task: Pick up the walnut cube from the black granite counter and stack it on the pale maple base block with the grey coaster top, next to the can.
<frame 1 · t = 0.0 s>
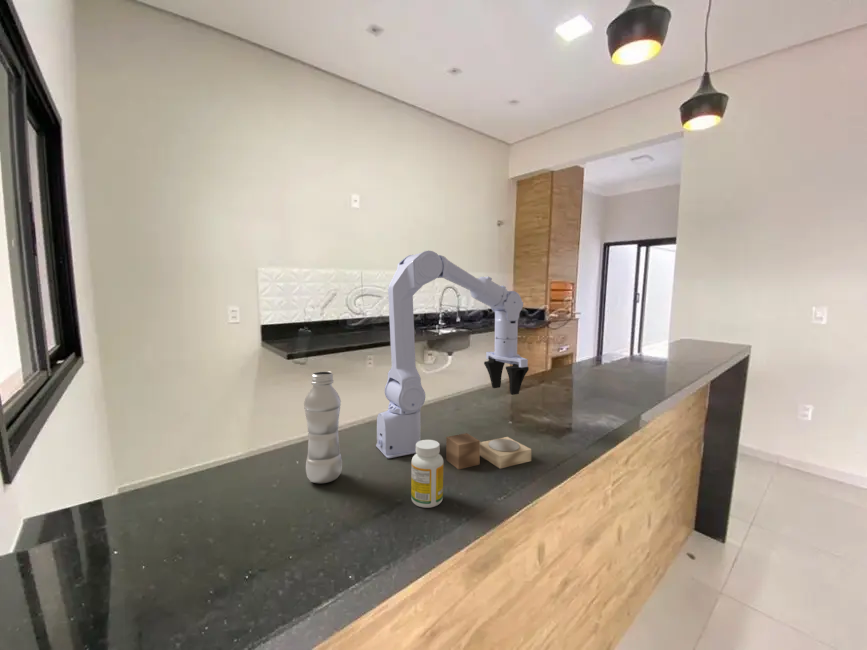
hand: (505, 390, 97), 10 cm above the worktop, fingers open, 7 cm apart
walnut cube: (462, 462, 78), on the worktop
base block: (503, 457, 80), on the worktop
supplement bottle: (427, 501, 63), on the worktop
plastic bottle: (324, 480, 70), on the worktop
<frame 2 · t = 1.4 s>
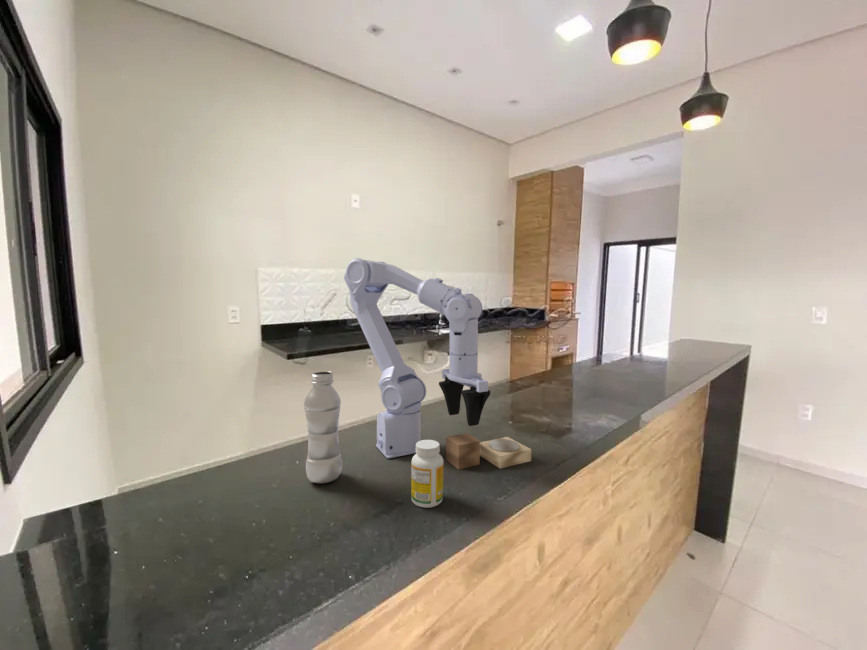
hand: (463, 419, 77), 9 cm above the worktop, fingers open, 7 cm apart
nothing on the worktop moved.
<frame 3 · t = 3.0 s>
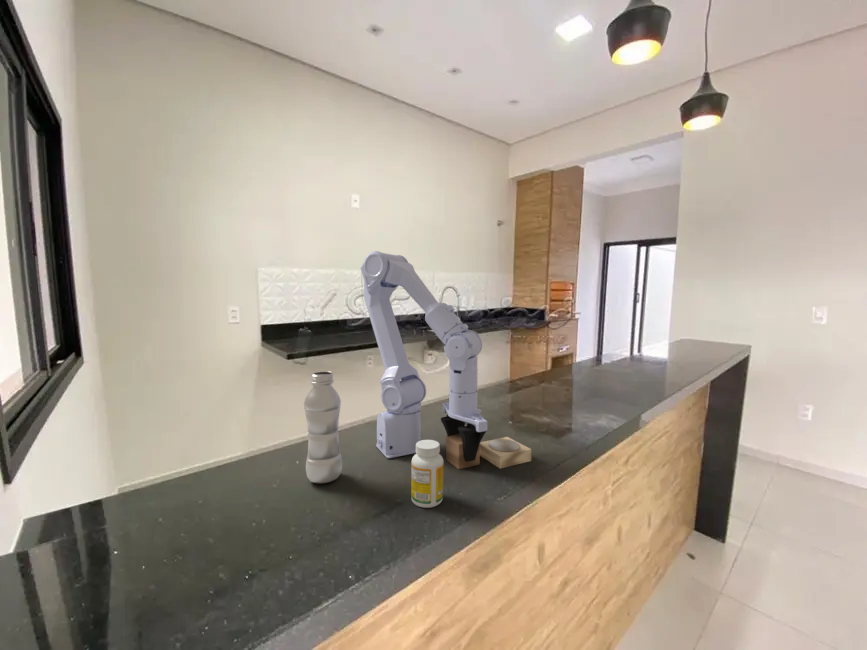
hand: (462, 455, 78), 1 cm above the worktop, fingers closed on walnut cube, 5 cm apart
walnut cube: (462, 462, 78), on the worktop, touching gripper
everything else where it was.
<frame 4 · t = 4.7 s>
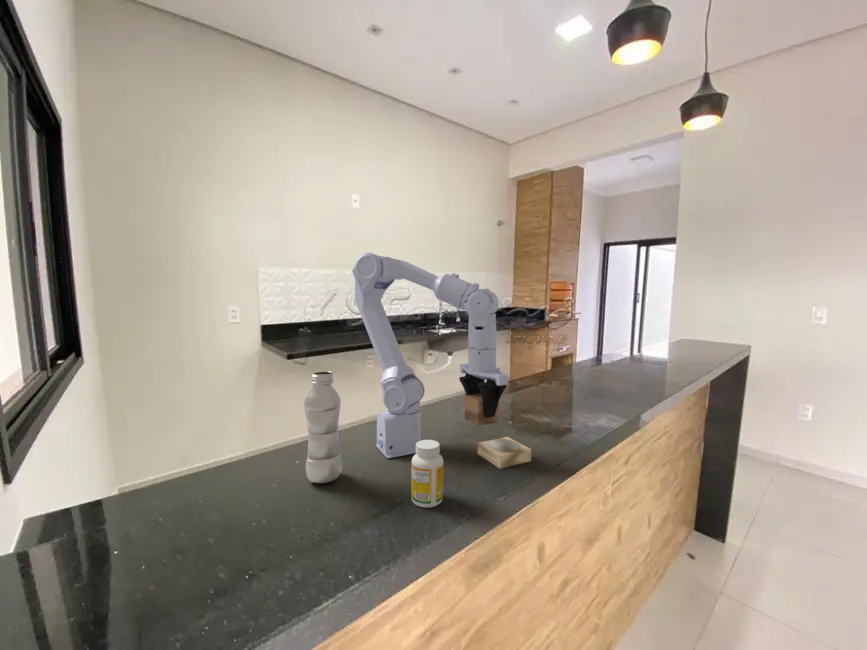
hand: (481, 413, 78), 10 cm above the worktop, fingers closed on walnut cube, 5 cm apart
walnut cube: (481, 420, 78), point 8 cm above the worktop, touching gripper
everything else where it was.
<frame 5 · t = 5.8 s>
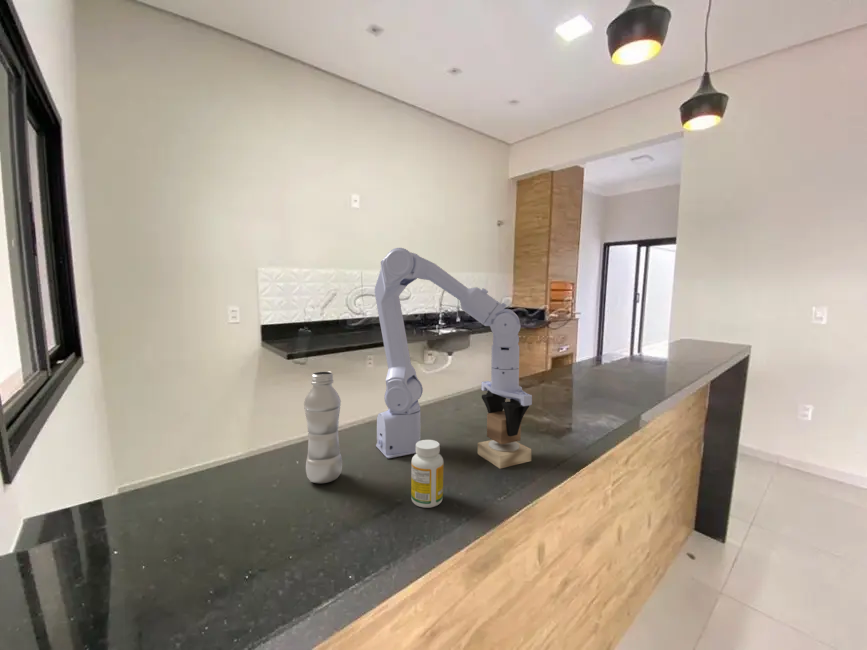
hand: (504, 430, 80), 6 cm above the worktop, fingers closed on walnut cube, 5 cm apart
walnut cube: (503, 438, 80), point 4 cm above the worktop, touching gripper
everything else where it was.
when the fingers open (6 cm above the worktop, at t = 6.7 s): walnut cube drops 1 cm, resting on base block.
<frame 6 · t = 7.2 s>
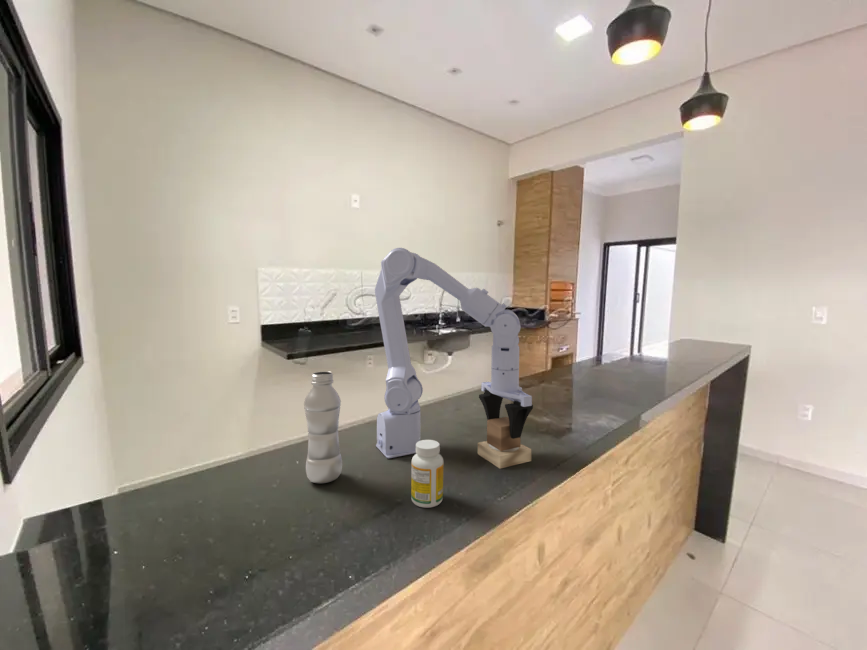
hand: (504, 431, 80), 6 cm above the worktop, fingers open, 7 cm apart
walnut cube: (503, 444, 80), point 3 cm above the worktop, touching base block
everything else where it was.
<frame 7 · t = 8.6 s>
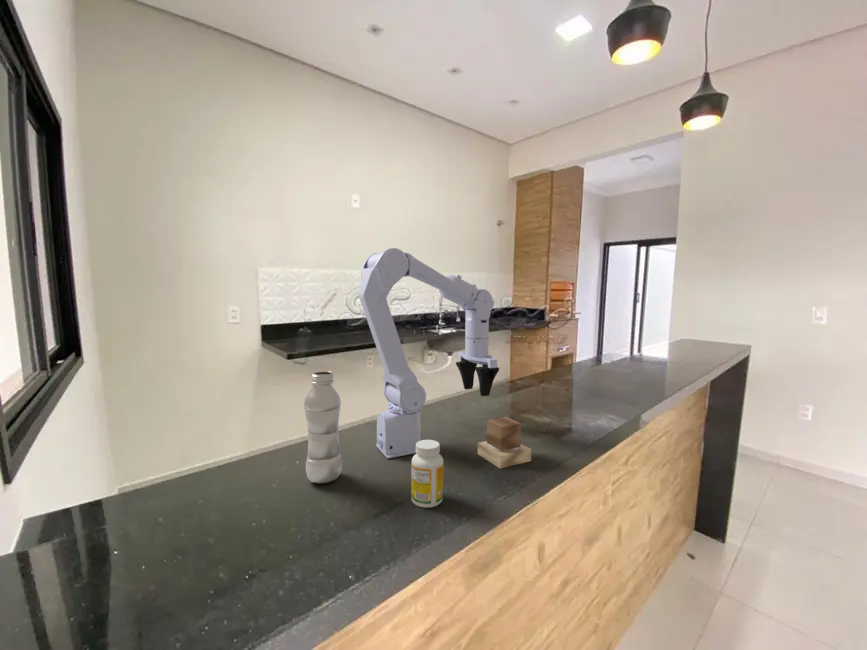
hand: (476, 392, 94), 10 cm above the worktop, fingers open, 7 cm apart
nothing on the worktop moved.
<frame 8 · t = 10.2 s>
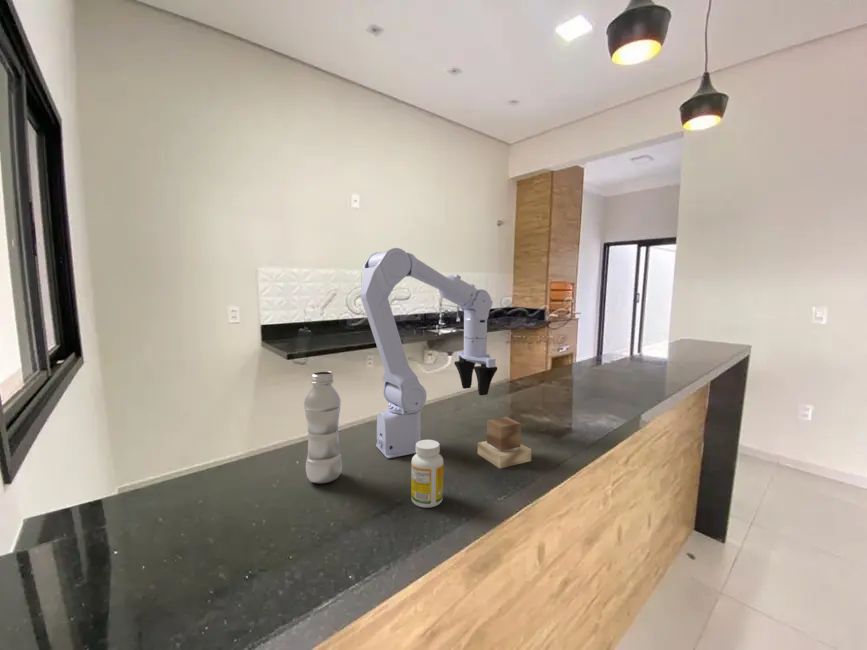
hand: (474, 391, 95), 10 cm above the worktop, fingers open, 7 cm apart
nothing on the worktop moved.
at the end: walnut cube inside the target area on the base block (0.2 cm from its centre), point 2.8 cm above the base block's base; walnut cube tilted 0°; the gripper is holding nothing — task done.
